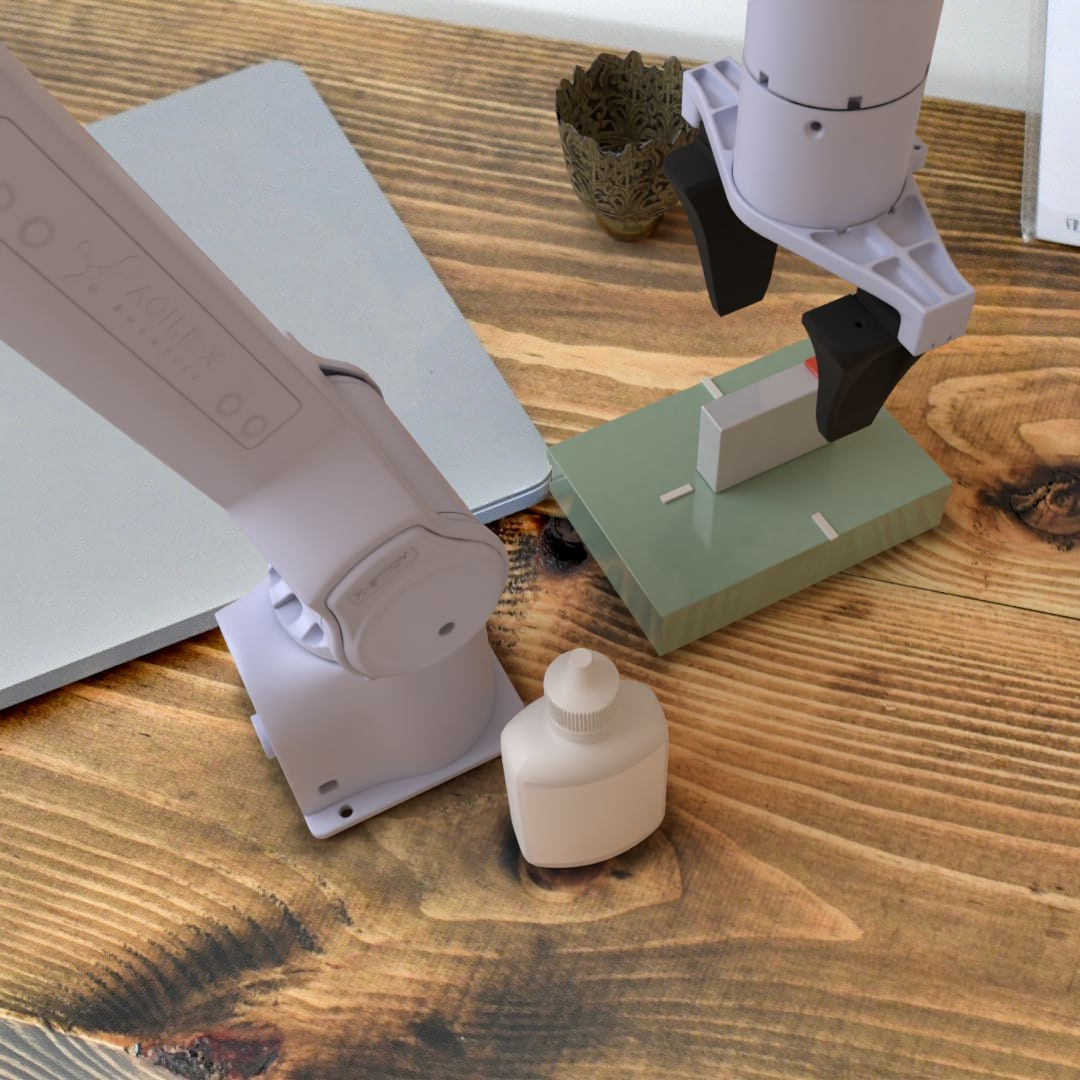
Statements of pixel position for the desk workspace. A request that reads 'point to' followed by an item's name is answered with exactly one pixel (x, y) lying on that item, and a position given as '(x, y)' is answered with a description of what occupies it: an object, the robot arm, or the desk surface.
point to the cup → (623, 140)
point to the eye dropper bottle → (585, 764)
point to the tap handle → (759, 427)
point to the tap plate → (735, 509)
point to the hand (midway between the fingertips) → (789, 363)
